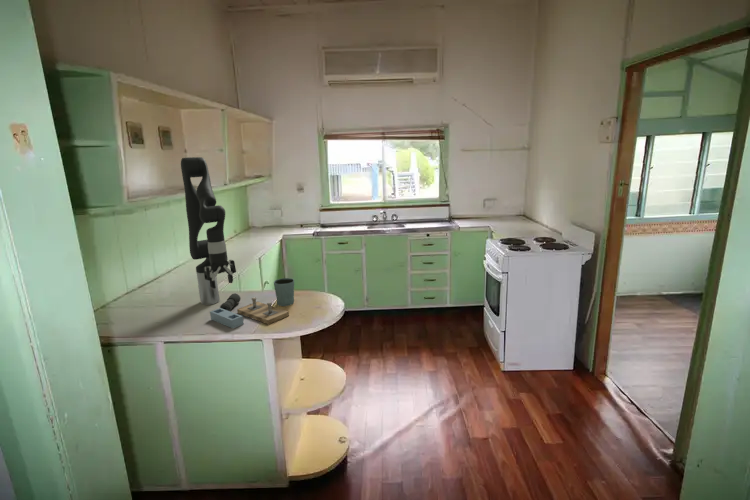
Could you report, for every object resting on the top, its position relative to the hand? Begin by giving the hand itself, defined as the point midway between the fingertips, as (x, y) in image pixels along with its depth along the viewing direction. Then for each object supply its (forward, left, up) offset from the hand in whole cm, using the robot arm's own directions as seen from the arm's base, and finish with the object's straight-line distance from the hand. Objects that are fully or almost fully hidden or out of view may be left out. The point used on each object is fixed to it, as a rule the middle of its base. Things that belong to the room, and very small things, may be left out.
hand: (222, 285), depth 185 cm
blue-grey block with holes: (0, 0, -18) cm, 18 cm away
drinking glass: (+5, +31, -18) cm, 36 cm away
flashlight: (-14, +11, -18) cm, 25 cm away
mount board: (+7, +15, -18) cm, 24 cm away
